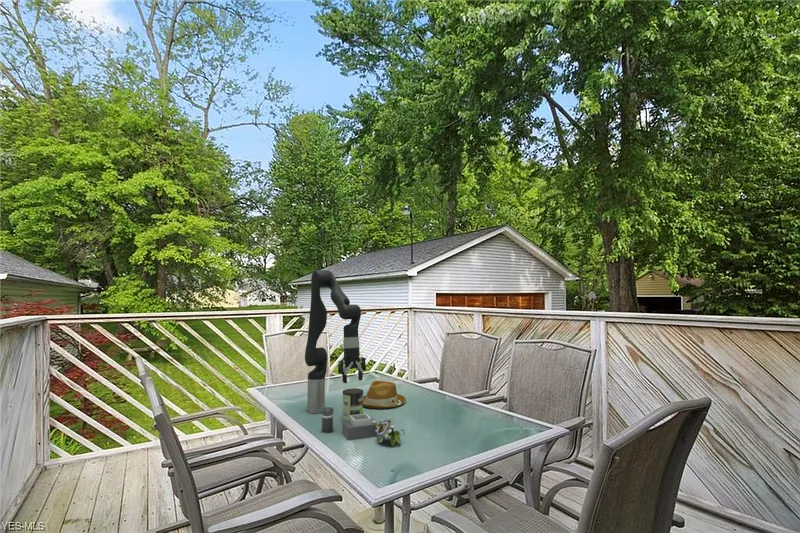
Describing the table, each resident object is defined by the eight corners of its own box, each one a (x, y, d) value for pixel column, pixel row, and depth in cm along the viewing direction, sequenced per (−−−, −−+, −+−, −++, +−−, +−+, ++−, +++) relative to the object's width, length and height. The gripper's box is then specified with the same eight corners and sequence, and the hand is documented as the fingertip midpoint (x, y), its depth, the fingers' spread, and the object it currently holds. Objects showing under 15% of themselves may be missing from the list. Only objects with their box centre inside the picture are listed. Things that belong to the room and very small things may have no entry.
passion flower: (379, 456, 168) (368, 428, 173) (401, 445, 173) (389, 419, 179) (388, 448, 160) (376, 420, 165) (410, 438, 165) (398, 411, 171)
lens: (320, 429, 183) (321, 407, 184) (331, 428, 185) (332, 406, 185) (322, 433, 178) (323, 410, 179) (334, 432, 180) (334, 409, 181)
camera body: (342, 432, 180) (342, 415, 180) (371, 428, 185) (371, 412, 186) (347, 440, 171) (347, 422, 171) (378, 435, 176) (378, 418, 176)
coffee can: (365, 416, 202) (365, 388, 203) (359, 423, 192) (359, 393, 193) (346, 415, 204) (346, 387, 205) (339, 421, 194) (339, 392, 195)
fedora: (347, 404, 225) (347, 382, 226) (381, 394, 247) (382, 374, 248) (381, 413, 208) (381, 390, 209) (415, 402, 230) (415, 381, 231)
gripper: (359, 345, 196) (360, 378, 194) (334, 347, 187) (335, 383, 185) (368, 345, 190) (369, 380, 188) (343, 348, 181) (344, 384, 179)
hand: (352, 381), depth 186 cm, fingers open, 8 cm apart
